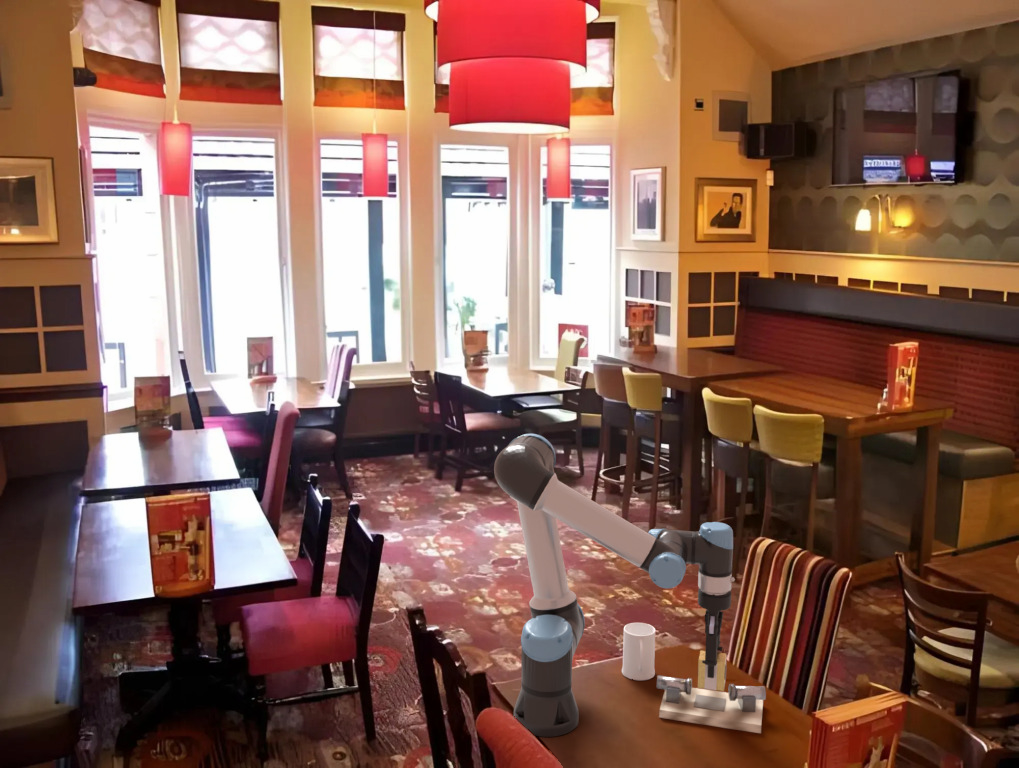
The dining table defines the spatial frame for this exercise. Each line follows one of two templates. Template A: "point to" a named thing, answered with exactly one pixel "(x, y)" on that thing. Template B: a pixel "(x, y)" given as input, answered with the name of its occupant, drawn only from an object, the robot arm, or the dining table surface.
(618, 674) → the dining table surface
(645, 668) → the mug
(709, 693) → the bench
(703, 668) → the wooden block with hole
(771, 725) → the dining table surface
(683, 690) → the shaft left
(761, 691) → the shaft right
